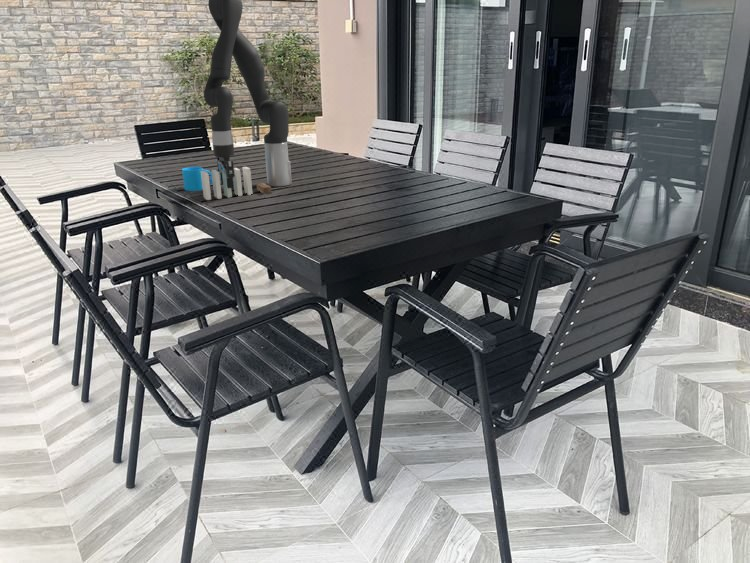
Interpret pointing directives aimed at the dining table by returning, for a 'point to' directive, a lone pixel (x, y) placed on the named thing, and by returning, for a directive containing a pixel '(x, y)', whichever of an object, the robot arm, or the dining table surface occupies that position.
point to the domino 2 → (216, 184)
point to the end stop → (264, 188)
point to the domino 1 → (206, 185)
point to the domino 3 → (226, 190)
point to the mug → (193, 178)
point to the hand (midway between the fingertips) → (227, 186)
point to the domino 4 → (237, 182)
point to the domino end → (247, 180)
